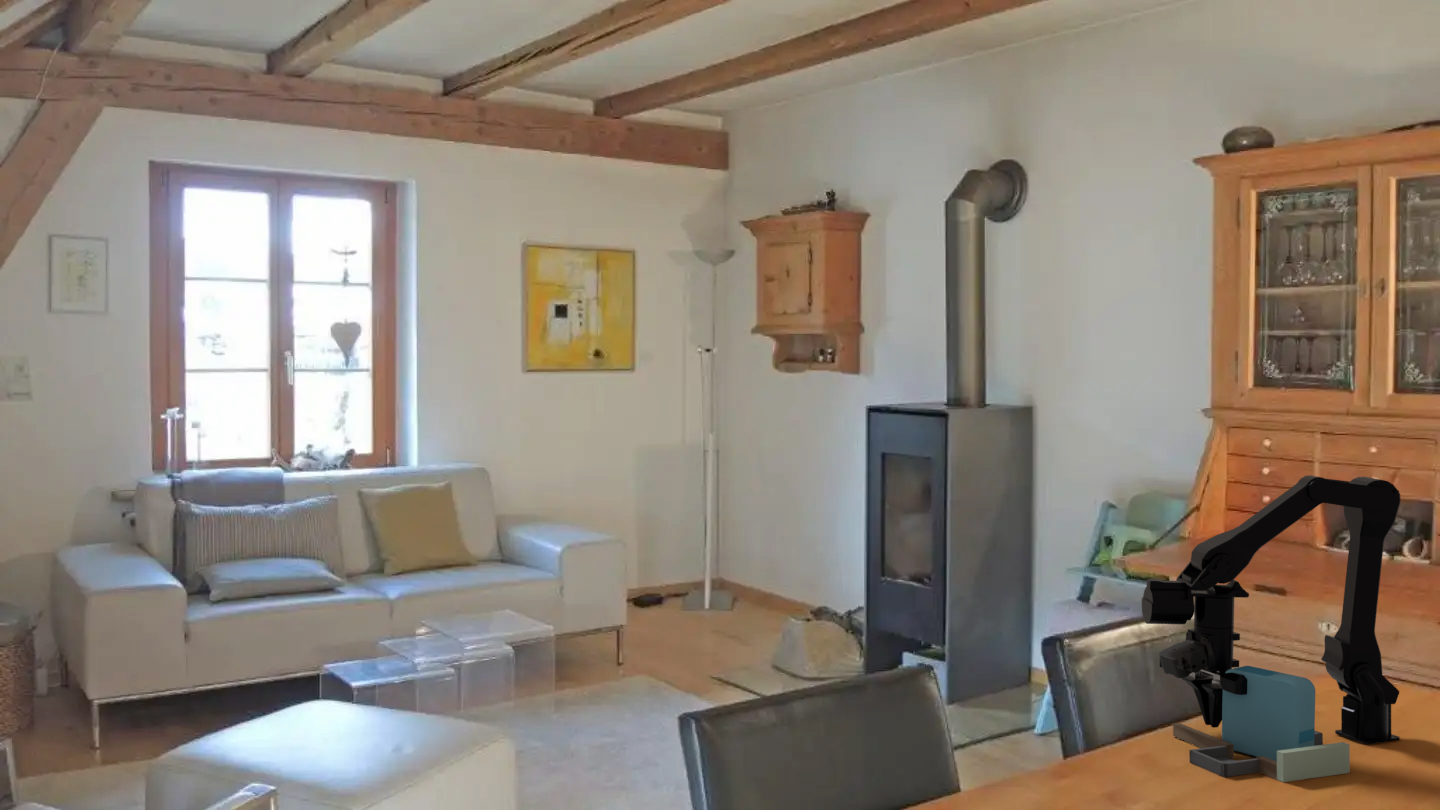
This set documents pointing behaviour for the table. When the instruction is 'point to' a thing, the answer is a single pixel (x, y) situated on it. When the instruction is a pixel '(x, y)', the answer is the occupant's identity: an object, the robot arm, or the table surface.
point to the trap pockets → (1230, 760)
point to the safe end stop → (1313, 761)
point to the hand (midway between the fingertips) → (1211, 726)
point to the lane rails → (1207, 740)
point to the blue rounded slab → (1269, 713)
